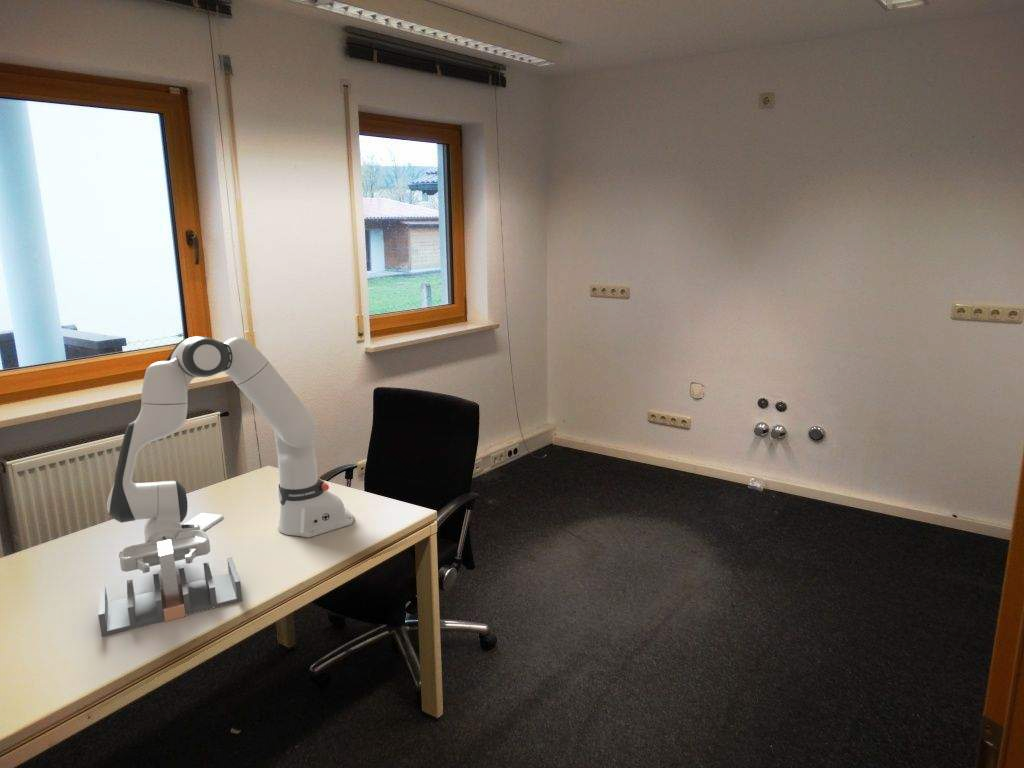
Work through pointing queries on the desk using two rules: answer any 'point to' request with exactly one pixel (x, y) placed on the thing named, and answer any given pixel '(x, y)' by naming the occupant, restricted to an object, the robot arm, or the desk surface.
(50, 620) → the desk surface
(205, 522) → the external hard drive
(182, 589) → the rack
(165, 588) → the panel
